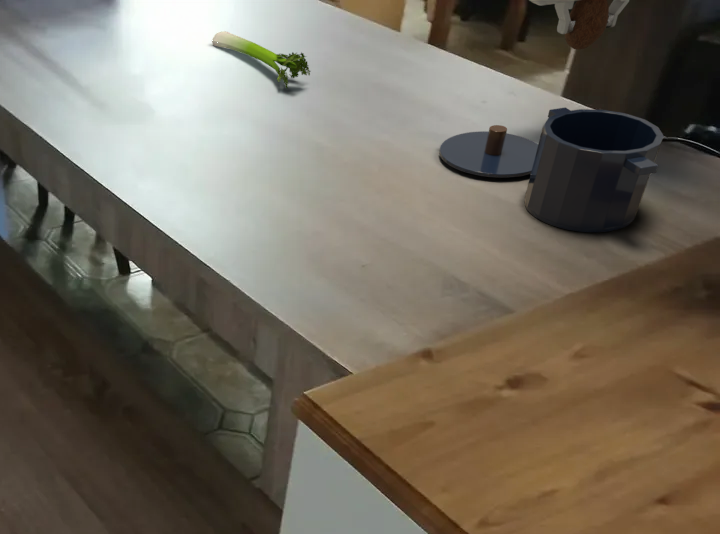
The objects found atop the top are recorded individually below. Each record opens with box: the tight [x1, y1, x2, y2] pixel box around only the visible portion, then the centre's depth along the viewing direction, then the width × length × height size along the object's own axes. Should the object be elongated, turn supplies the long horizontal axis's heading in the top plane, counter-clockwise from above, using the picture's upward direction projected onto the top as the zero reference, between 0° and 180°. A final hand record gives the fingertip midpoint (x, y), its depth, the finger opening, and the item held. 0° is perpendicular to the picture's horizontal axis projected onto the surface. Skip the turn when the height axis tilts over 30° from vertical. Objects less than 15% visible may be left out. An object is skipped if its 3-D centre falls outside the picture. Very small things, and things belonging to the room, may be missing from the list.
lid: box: [438, 124, 539, 179], centre depth 133 cm, size 15×15×5 cm
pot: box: [524, 107, 664, 233], centre depth 119 cm, size 14×19×10 cm
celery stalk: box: [211, 30, 312, 90], centre depth 166 cm, size 6×7×30 cm
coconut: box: [564, 0, 610, 51], centre depth 132 cm, size 5×5×8 cm
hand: (585, 29), depth 132 cm, fingers closed on coconut, 5 cm apart
